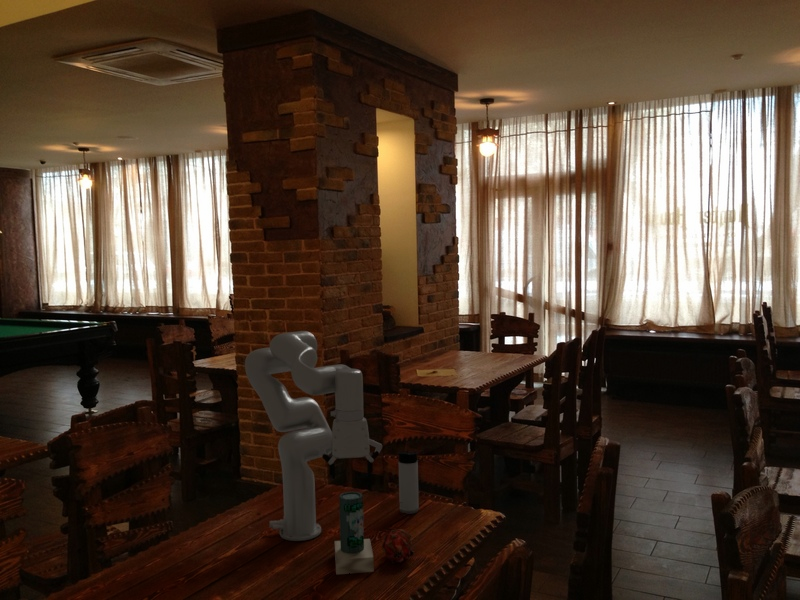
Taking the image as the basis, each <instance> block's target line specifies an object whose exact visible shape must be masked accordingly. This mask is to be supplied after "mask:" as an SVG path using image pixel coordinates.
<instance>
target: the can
mask: <svg viewBox="0 0 800 600" xmlns="http://www.w3.org/2000/svg"><path fill="white" fill-rule="evenodd" d="M363 497H364V494H363V493H361V492H360V491H359V492H358V491H346V492H342V493H339V496H338V500H339V501H338V503H339V505H338V507H339V534H340V535H339V537H340V540H339V541H340V543H341V551H343V552H344V553H348V554H349V553H351V554H353V553H358V552H361V551H362V550H364V539H365V538H364V537H365V534H364V533H365V531H364V527H365V526H364V499H363Z"/></svg>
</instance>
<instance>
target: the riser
mask: <svg viewBox="0 0 800 600" xmlns="http://www.w3.org/2000/svg"><path fill="white" fill-rule="evenodd" d="M334 558H335V559H334V560H335V573H336V575H337V576H338V575H348V574H349V573H350V574H360V573H373V572H374V571H375V567H374V565H375V564H374V552H373V547H372V543H371V539H370V538H364V550H362V551H361V552H358V553H353V554H351V553H349V554H348V553H344V552H343V551H341V543H340V540H334Z"/></svg>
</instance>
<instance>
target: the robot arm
mask: <svg viewBox="0 0 800 600" xmlns="http://www.w3.org/2000/svg"><path fill="white" fill-rule="evenodd" d="M317 351H318V341H317V339H316V336H314V334H313V333H311V332H309V331H308V330H300V331H289V332H282V333H279V334H276V335H274V337H272V339H271V340H270V343H269V347H263V348H262V347H261V348H258V349H255V350H253V351H251V352H249V353H248V355H247V356H246V358H245V360H244V371H245V374H246V377H247V380H248V383H249V384H250V386H251V387H252V389H253V391H255V392H256V394H257V396H258V397H259V398H260V400H261V403H262V405H263V407H264V409H265V412H266V414H267V416H268V419H269V420H270V424H271V425H272V427H273V428H274V429H275V431H276V432H280V433H285V434H283V435H282V436H281V437H280V438H279V440H278V444H277V450H278V455H279V459H280V464H281V471H282V473H281V474H282V489H283V490H282V491H283V493H282V494H283V518H282V519H281V518H280V520H269V528H272V530H279V536H280V538H281V539H284V540H286V541H290V542H303V541H309V540H312V539H315V538H317V537H319V536H320V534H322V526H321V525H320V524H319V523H317V515H316V514H317V513H316V486H315V473H314V472H313V470H312V468H311V467H310V465H308V462H309V461H312V460H315V459H319V458H322V459H323V460H324V461H326V463H327V464H328V465H329V467H328V468H329V475H330V476H332V478H331V479H332V480H334V479H336V471H335V470H336V467H335V461H336V460H337V459H355V458H366V459H367V460H366V473H367V474H366V475H367V477H368V478H371V474H372V473H373V472H374V470H373V469H374V468H373V465H374V464H373V462H374V461H375V460H376V458H377V457H378V456H379V455H380V452H381V451H382V449H383V444H382V443H380V442H378V441H375V440H374V439H371V438H370V434H369V426H368V424H369V423H368V421H367V418H366V417H364V382H363V381H364V380H363V379H364V378H363V377H364V376H363V373H362V371H361V370H360V369H357V368H351V367H349V366H348V365H346V364H340V363H338V364H332V365H324V366H318V367H316V365H317V362H318V354H317ZM287 372H290V373H291V374H290V375H291V379H292V380H293V382H294V385H295V386H296V387H297V388H298V389H299V390H301V391H303V392H304V393H305V394H307V395H311V396H322V395H326V394H331V393H334V396H335V402H334V403H335V409H334V410H332V411H330V417H334V418H335V419H333V422H332V427H331V428H330V426H329V423H328V422H327V419H326V417H325V414H324V413H323V410H322V409H321V407H320V405H319V403H318V402H317V401H316V400H315V399H314V398H312V397H309V396H302V397H297V398H292V397H291V395H290V394H289V392H288V389H287V388H286V386H285V385H284V384H283V383H282V382H281V381H280V380H279V379H277V378H276V377H274V376H272V375H274V374H280V373H287ZM286 432H287V433H286ZM370 446H371V447H374V448H375V450H374V451H373V452H372V453H371V452H370Z"/></svg>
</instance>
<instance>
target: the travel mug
mask: <svg viewBox="0 0 800 600" xmlns="http://www.w3.org/2000/svg"><path fill="white" fill-rule="evenodd" d="M397 454H398V493H399V494H398V497H399V499H398V500H399V501H398V502H399V512H400V513H402V514H404V513H406V515H411V514H416V513H418V512H419V507H420V506H419V465H418V464H419V463H418V462H419V461H418V452H417V451H409V450H401V451H398V453H397Z"/></svg>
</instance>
